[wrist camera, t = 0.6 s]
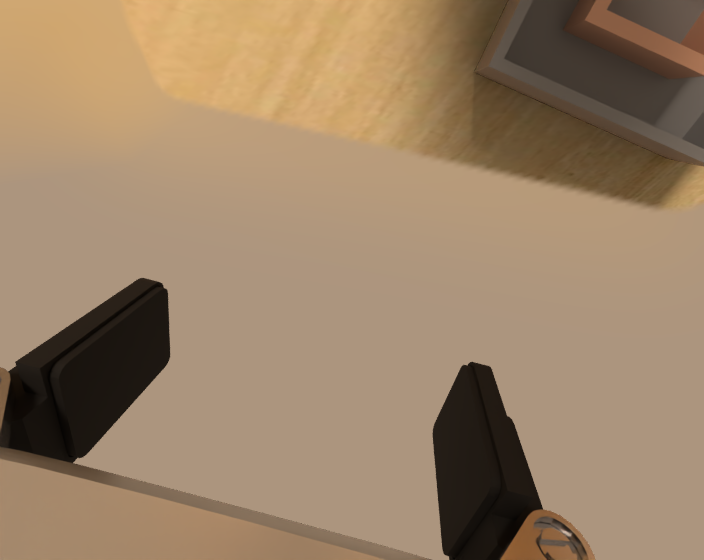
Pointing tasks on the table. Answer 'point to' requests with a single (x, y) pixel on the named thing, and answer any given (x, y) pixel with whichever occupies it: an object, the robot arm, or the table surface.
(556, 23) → the walled box
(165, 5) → the table surface
